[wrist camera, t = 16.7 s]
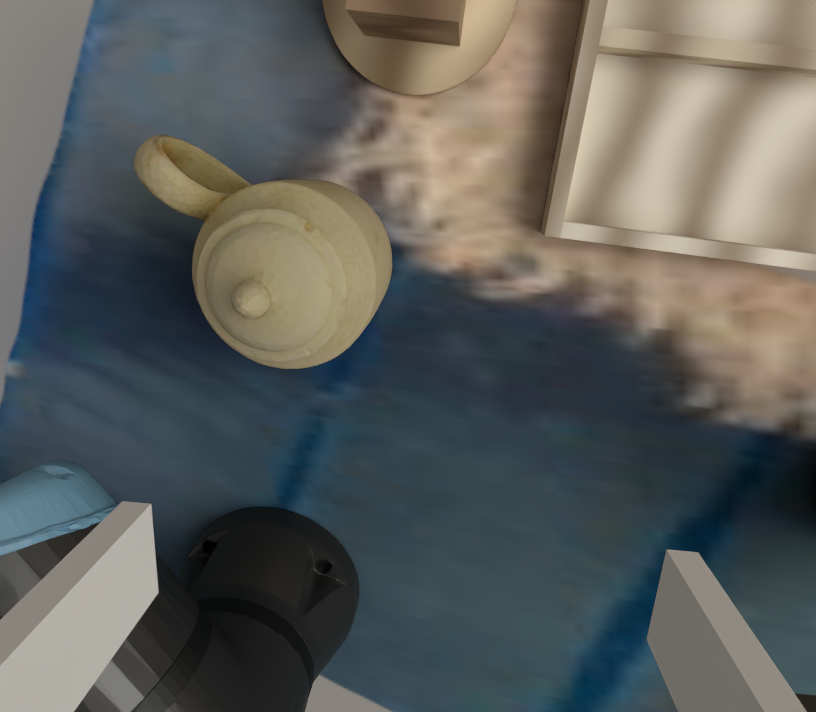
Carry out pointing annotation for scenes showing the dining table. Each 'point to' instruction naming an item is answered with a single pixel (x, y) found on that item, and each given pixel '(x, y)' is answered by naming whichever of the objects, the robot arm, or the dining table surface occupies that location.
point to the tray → (691, 130)
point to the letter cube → (410, 19)
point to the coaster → (422, 49)
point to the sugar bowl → (274, 255)
